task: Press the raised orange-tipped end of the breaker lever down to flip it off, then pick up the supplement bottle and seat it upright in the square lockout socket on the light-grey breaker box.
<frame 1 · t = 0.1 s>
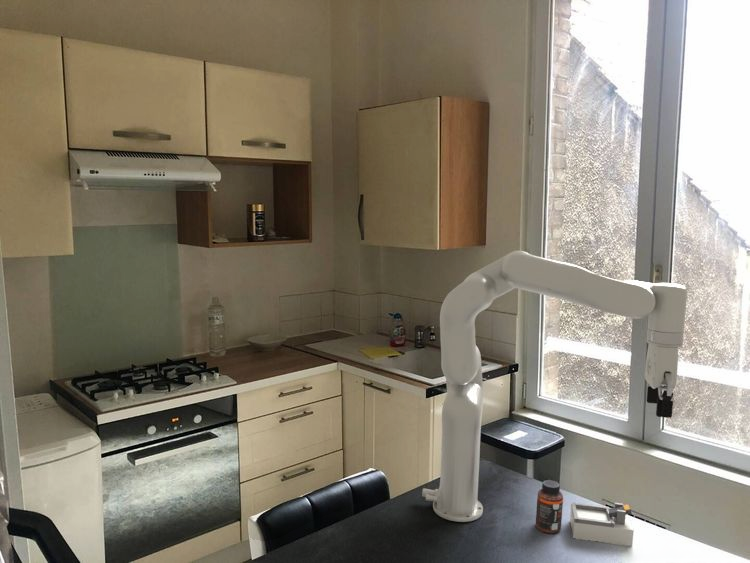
hand: (658, 409, 142), 31 cm above the table, fingers open, 9 cm apart
supplement bottle: (548, 528, 148), on the table
breaker lever: (619, 510, 145), point 6 cm above the table, hinge at -18.0°, touching breaker box
breaker box: (600, 533, 146), on the table
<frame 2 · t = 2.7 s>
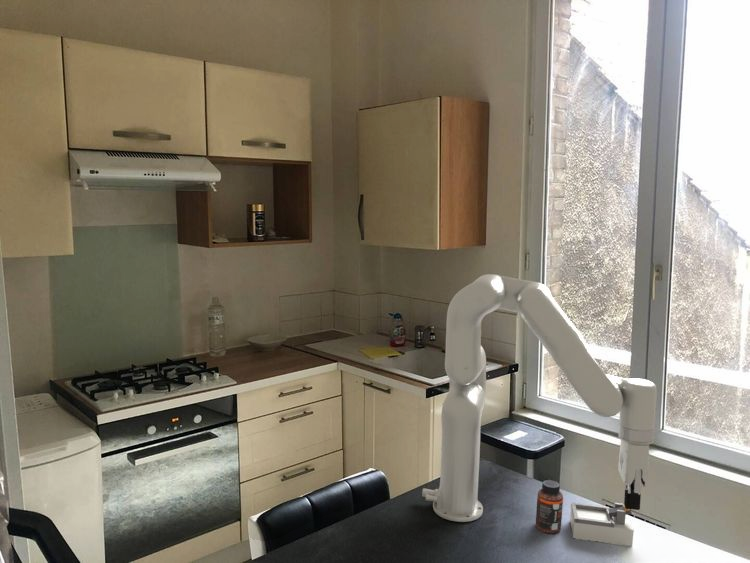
hand: (631, 507, 144), 7 cm above the table, fingers closed
breaker lever: (619, 510, 145), point 6 cm above the table, hinge at -16.8°, touching gripper
everything else where it was.
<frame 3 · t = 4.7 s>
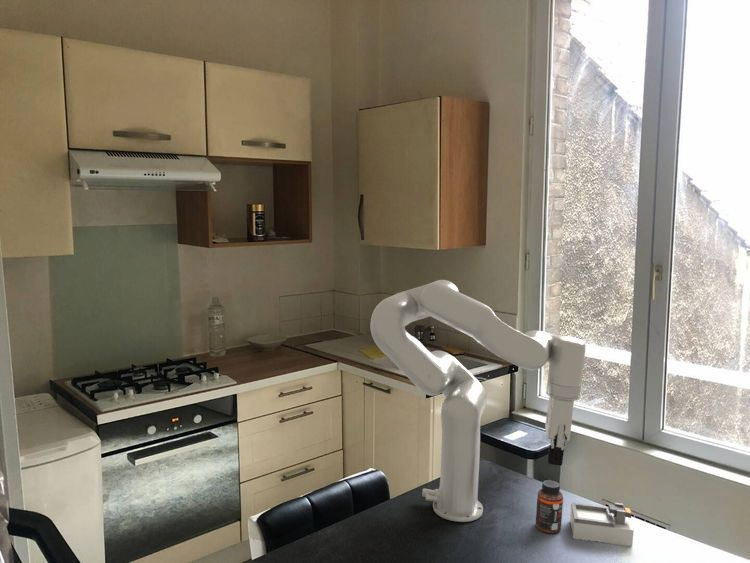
hand: (554, 463, 146), 16 cm above the table, fingers closed
breaker lever: (619, 510, 145), point 6 cm above the table, hinge at 7.8°
everything else where it was.
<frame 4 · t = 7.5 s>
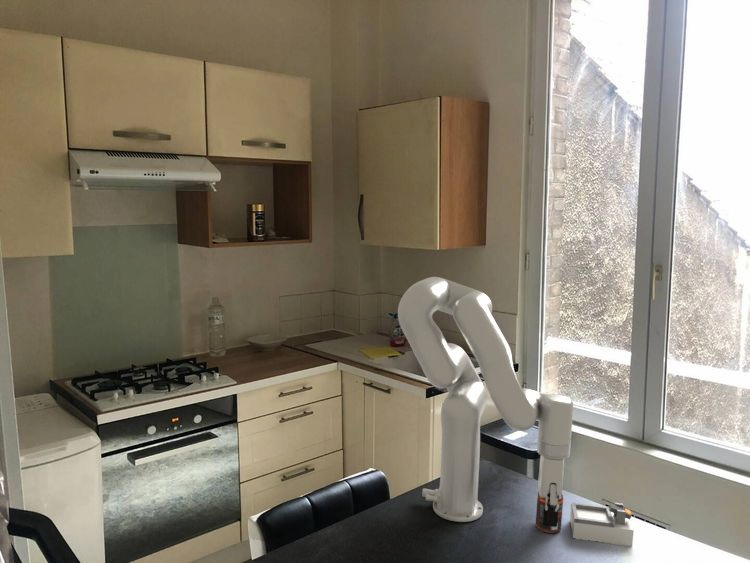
hand: (548, 517, 148), 3 cm above the table, fingers closed on supplement bottle, 6 cm apart
supplement bottle: (548, 528, 148), on the table, touching gripper
breaker lever: (620, 510, 145), point 6 cm above the table, hinge at 17.1°
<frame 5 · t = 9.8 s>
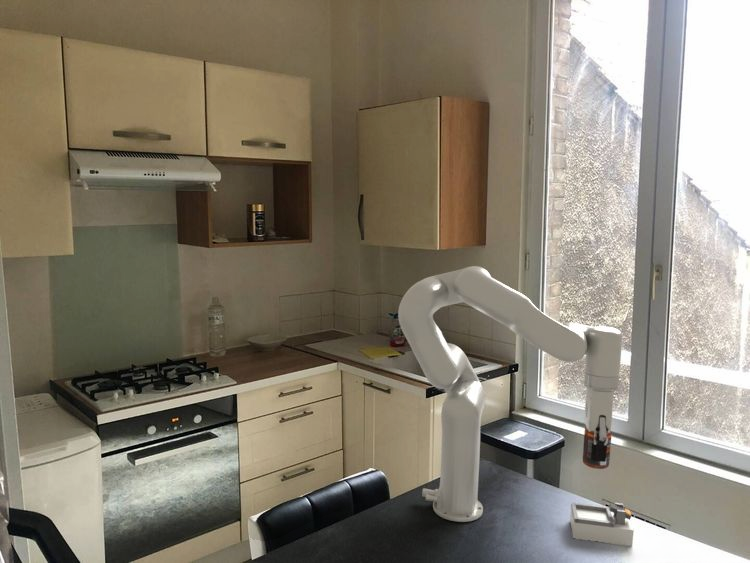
hand: (596, 454, 144), 20 cm above the table, fingers closed on supplement bottle, 6 cm apart
supplement bottle: (595, 465, 145), point 17 cm above the table, touching gripper
breaker lever: (620, 510, 145), point 6 cm above the table, hinge at 18.9°
when the fingers open (8 cm above the table, at t = 12.4 s): supplement bottle drops 1 cm, resting on breaker box.
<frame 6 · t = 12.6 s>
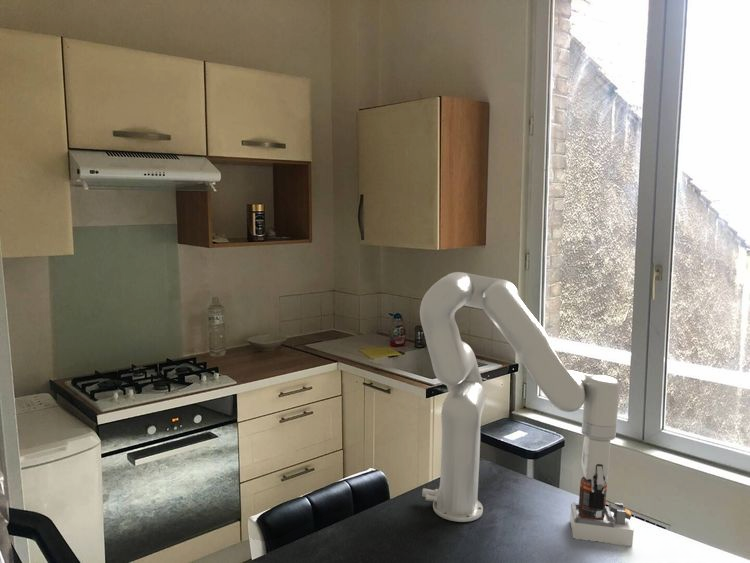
hand: (593, 498, 146), 8 cm above the table, fingers open, 8 cm apart
supplement bottle: (591, 516, 147), point 4 cm above the table, touching breaker box
breaker lever: (620, 510, 145), point 6 cm above the table, hinge at 19.4°
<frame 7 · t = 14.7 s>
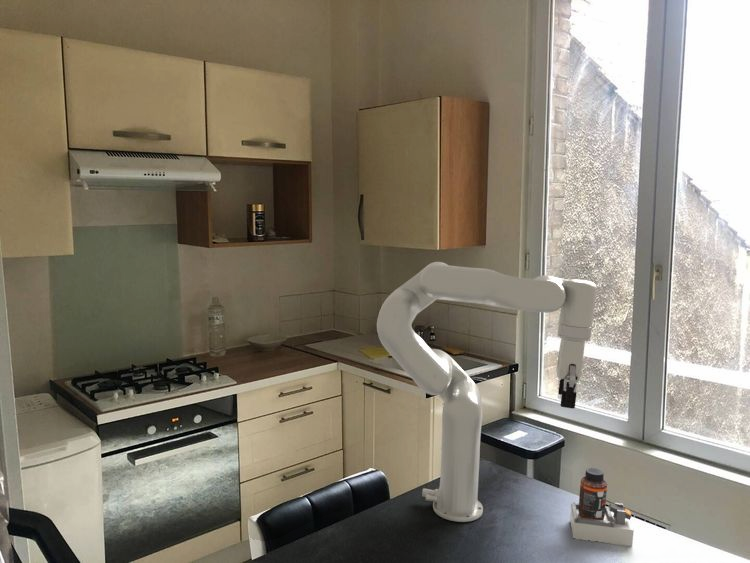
hand: (566, 400, 148), 31 cm above the table, fingers open, 9 cm apart
nothing on the table moved.
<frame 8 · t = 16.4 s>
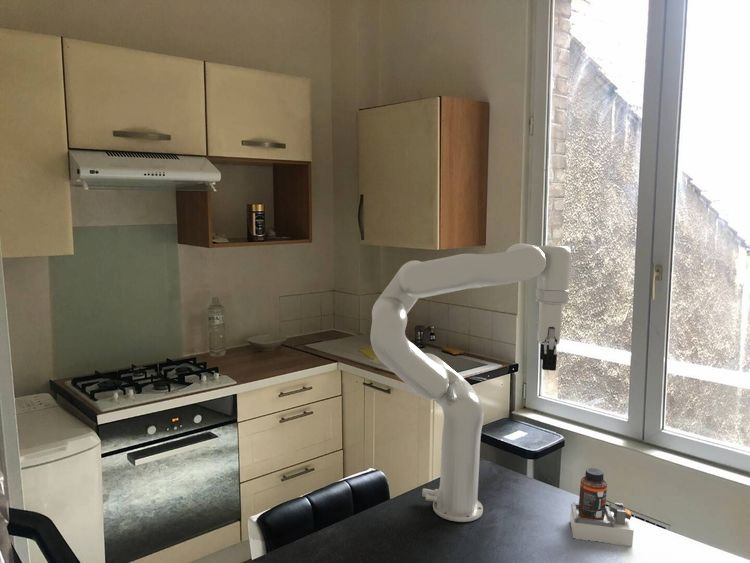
hand: (547, 364, 151), 38 cm above the table, fingers open, 9 cm apart
nothing on the table moved.
at the end: breaker lever at +20° (first picture: -18°); supplement bottle inside the target area on the breaker box (0.2 cm from its centre), point 3.8 cm above the breaker box's base; supplement bottle tilted 0° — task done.
